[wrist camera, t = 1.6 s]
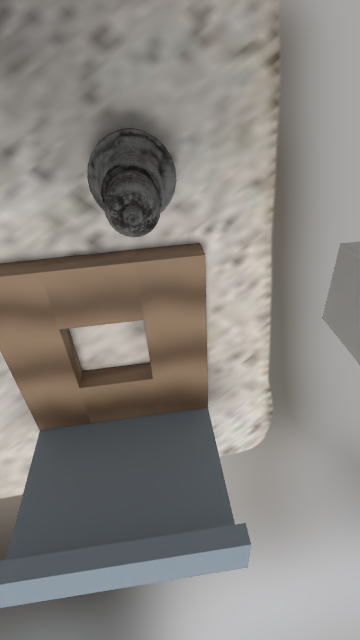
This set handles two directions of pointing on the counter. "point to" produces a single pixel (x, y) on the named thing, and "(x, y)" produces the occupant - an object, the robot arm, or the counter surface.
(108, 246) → the counter surface
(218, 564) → the grey upright panel
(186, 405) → the socket block
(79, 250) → the counter surface
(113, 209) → the dark grey chess piece
